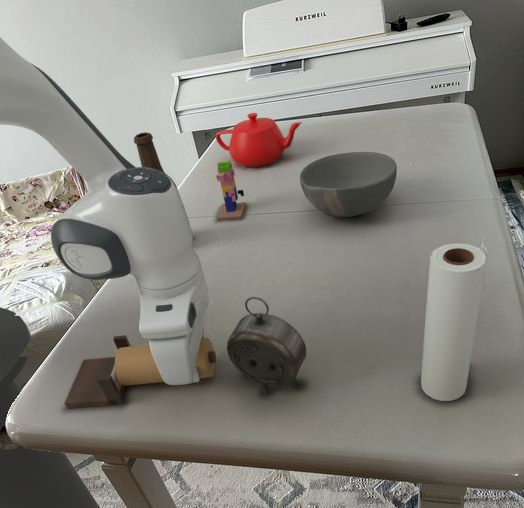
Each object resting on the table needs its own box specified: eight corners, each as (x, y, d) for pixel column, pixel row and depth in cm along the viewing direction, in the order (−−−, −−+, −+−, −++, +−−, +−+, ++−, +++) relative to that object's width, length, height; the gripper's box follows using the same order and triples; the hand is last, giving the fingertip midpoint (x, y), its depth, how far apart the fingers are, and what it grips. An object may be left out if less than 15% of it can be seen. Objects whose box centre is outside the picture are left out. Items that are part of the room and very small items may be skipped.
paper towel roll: (429, 406, 70) (441, 274, 56) (414, 375, 75) (423, 246, 61) (481, 396, 70) (507, 262, 56) (464, 366, 75) (484, 235, 61)
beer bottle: (169, 233, 119) (137, 127, 103) (198, 237, 116) (169, 127, 100) (150, 251, 114) (114, 142, 99) (179, 255, 111) (146, 143, 95)
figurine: (223, 206, 126) (212, 157, 118) (245, 204, 125) (236, 155, 117) (217, 220, 121) (206, 170, 113) (241, 218, 119) (231, 168, 112)
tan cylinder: (114, 398, 80) (100, 370, 76) (126, 364, 86) (113, 337, 82) (216, 388, 78) (207, 359, 74) (221, 354, 84) (212, 325, 80)
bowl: (414, 200, 114) (416, 155, 107) (361, 243, 104) (360, 196, 97) (339, 183, 125) (336, 142, 119) (285, 221, 115) (279, 178, 109)
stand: (67, 408, 81) (52, 383, 77) (86, 364, 88) (73, 339, 84) (122, 404, 79) (109, 379, 76) (136, 360, 87) (126, 335, 83)
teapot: (211, 172, 143) (201, 127, 135) (229, 149, 153) (221, 106, 145) (298, 170, 135) (293, 122, 127) (312, 146, 145) (308, 101, 138)
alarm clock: (311, 378, 77) (300, 290, 67) (298, 404, 74) (284, 315, 63) (246, 365, 82) (226, 280, 71) (231, 389, 78) (208, 303, 68)
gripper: (165, 251, 79) (188, 322, 88) (135, 338, 63) (166, 413, 73) (205, 246, 78) (224, 318, 87) (185, 333, 63) (210, 410, 72)
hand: (198, 362), depth 80 cm, fingers closed on tan cylinder, 6 cm apart
